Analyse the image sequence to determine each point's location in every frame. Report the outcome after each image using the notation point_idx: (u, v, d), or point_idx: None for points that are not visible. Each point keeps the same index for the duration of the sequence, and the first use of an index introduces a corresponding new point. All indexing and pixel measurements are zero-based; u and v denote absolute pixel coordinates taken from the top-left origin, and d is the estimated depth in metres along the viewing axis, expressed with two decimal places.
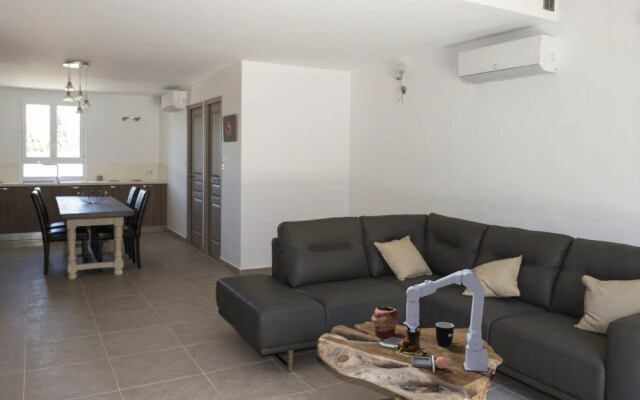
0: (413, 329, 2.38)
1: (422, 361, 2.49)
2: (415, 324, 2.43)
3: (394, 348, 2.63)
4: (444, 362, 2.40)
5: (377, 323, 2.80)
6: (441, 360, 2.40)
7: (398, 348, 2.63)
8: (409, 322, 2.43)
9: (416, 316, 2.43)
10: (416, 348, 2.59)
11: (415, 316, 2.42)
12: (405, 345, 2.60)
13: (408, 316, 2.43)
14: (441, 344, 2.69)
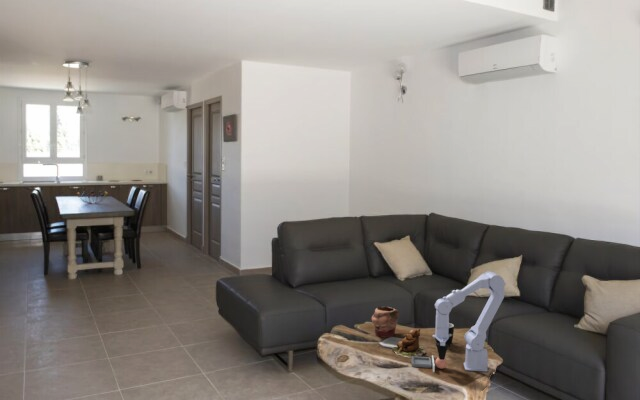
0: (443, 343, 2.34)
1: (422, 361, 2.49)
2: (445, 337, 2.38)
3: (393, 348, 2.62)
4: (444, 362, 2.40)
5: (377, 323, 2.80)
6: (441, 360, 2.40)
7: (397, 348, 2.62)
8: (439, 335, 2.39)
9: (446, 329, 2.38)
10: (415, 348, 2.58)
11: (445, 329, 2.38)
12: (404, 345, 2.59)
13: (438, 329, 2.39)
14: None
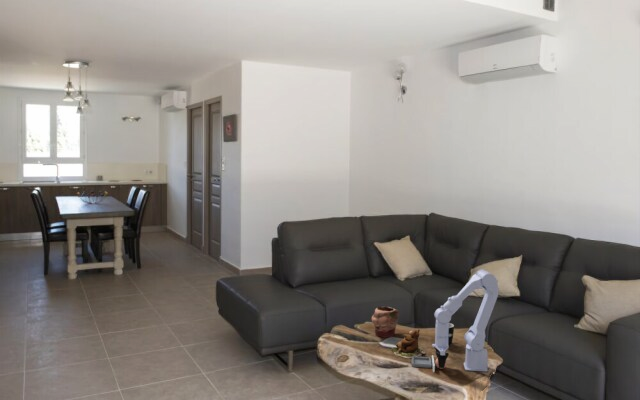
0: (443, 352, 2.34)
1: (422, 361, 2.49)
2: (444, 347, 2.39)
3: (393, 349, 2.62)
4: None
5: (377, 323, 2.80)
6: None
7: (397, 349, 2.62)
8: (439, 344, 2.39)
9: (446, 339, 2.39)
10: (414, 349, 2.57)
11: (445, 339, 2.39)
12: (403, 346, 2.59)
13: (437, 338, 2.40)
14: None
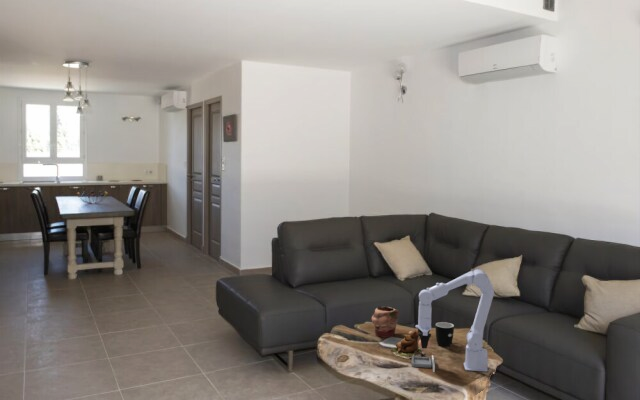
0: (426, 333, 2.38)
1: (422, 361, 2.49)
2: (427, 327, 2.43)
3: (392, 349, 2.61)
4: None
5: (377, 323, 2.80)
6: None
7: (396, 349, 2.61)
8: (422, 325, 2.43)
9: (428, 319, 2.43)
10: (414, 349, 2.57)
11: (427, 319, 2.42)
12: (403, 346, 2.58)
13: (420, 319, 2.43)
14: (441, 344, 2.69)
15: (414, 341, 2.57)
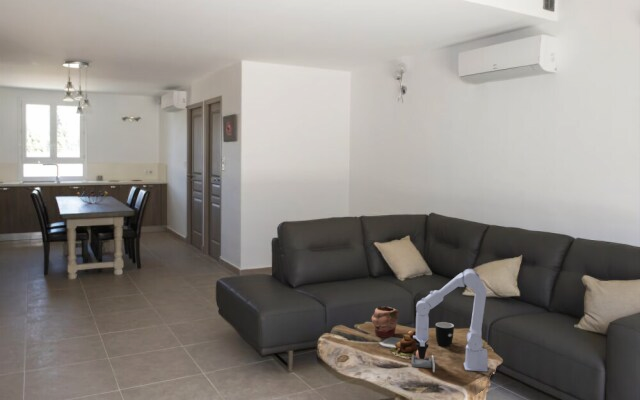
0: (423, 343, 2.39)
1: (422, 361, 2.49)
2: (425, 338, 2.44)
3: (392, 349, 2.62)
4: None
5: (377, 323, 2.80)
6: None
7: (396, 349, 2.61)
8: (419, 336, 2.44)
9: (426, 330, 2.44)
10: (413, 349, 2.57)
11: (425, 330, 2.44)
12: (402, 346, 2.58)
13: (418, 330, 2.45)
14: (441, 344, 2.69)
15: (413, 341, 2.57)
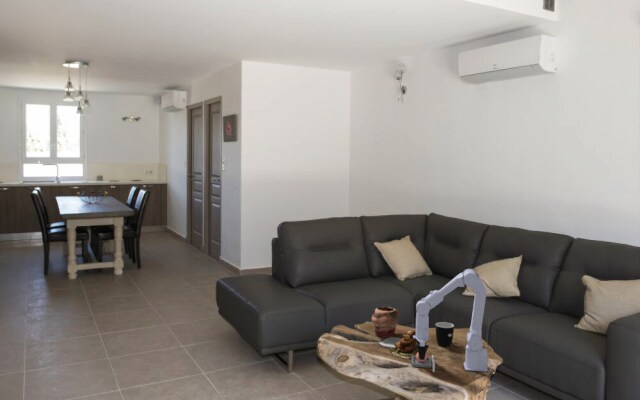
0: (423, 343, 2.39)
1: None
2: (425, 338, 2.44)
3: (391, 349, 2.62)
4: None
5: (377, 323, 2.80)
6: None
7: (395, 349, 2.62)
8: (419, 336, 2.44)
9: (426, 330, 2.44)
10: (413, 349, 2.57)
11: (425, 330, 2.44)
12: (402, 346, 2.58)
13: (418, 330, 2.45)
14: (441, 344, 2.69)
15: (413, 341, 2.57)
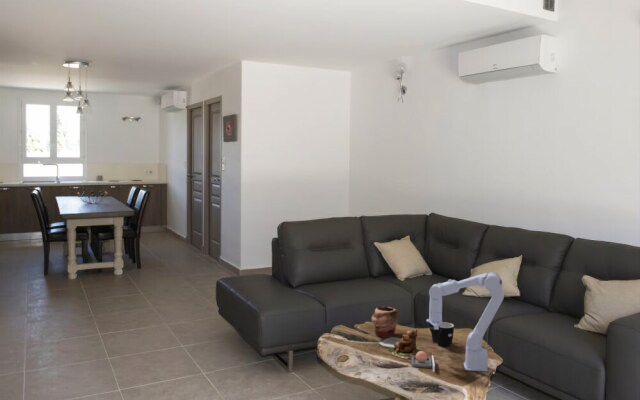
0: (437, 326, 2.41)
1: None
2: (438, 321, 2.45)
3: (390, 349, 2.62)
4: (424, 356, 2.45)
5: (377, 323, 2.80)
6: (421, 354, 2.46)
7: (394, 349, 2.62)
8: (433, 319, 2.46)
9: (439, 314, 2.45)
10: (412, 349, 2.57)
11: (438, 314, 2.45)
12: (401, 346, 2.58)
13: (431, 314, 2.46)
14: (441, 344, 2.69)
15: (412, 341, 2.57)
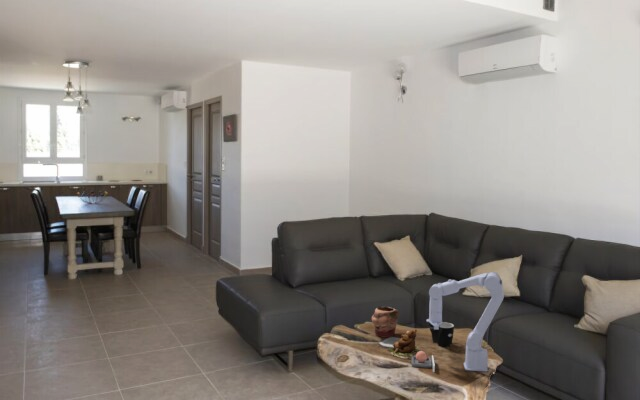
0: (437, 326, 2.41)
1: None
2: (438, 321, 2.45)
3: (390, 349, 2.61)
4: (424, 356, 2.46)
5: (377, 323, 2.80)
6: (421, 354, 2.46)
7: (394, 349, 2.61)
8: (433, 319, 2.46)
9: (439, 314, 2.45)
10: (411, 349, 2.57)
11: (438, 314, 2.45)
12: (400, 346, 2.58)
13: (431, 314, 2.46)
14: (441, 344, 2.69)
15: (411, 341, 2.57)
